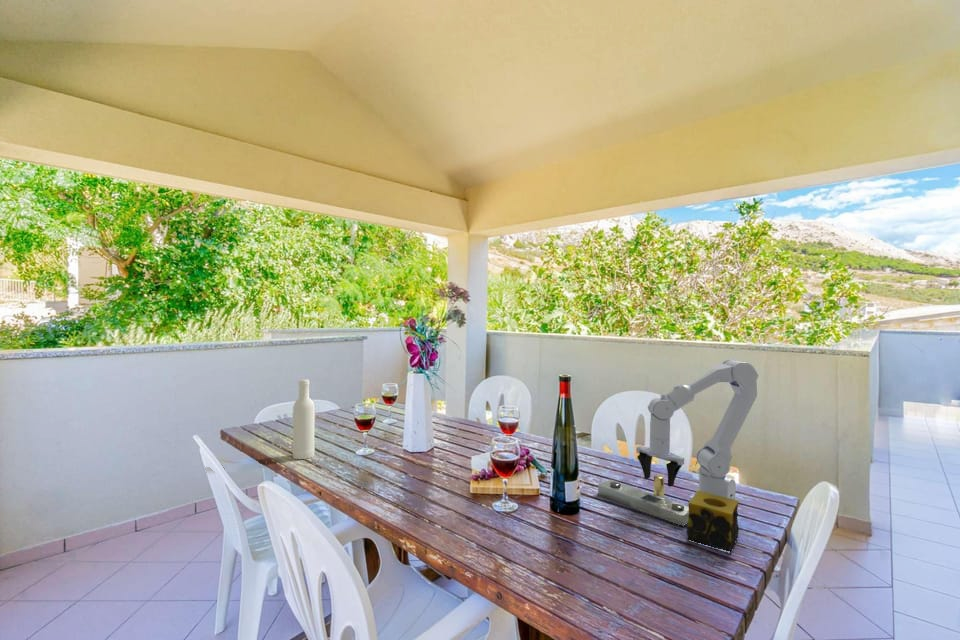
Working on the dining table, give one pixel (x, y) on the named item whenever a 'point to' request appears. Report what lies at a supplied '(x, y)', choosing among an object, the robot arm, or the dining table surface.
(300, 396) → the bottle
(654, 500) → the bolted metal base plate
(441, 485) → the dining table surface
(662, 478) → the pin
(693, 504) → the yellow block with hole
